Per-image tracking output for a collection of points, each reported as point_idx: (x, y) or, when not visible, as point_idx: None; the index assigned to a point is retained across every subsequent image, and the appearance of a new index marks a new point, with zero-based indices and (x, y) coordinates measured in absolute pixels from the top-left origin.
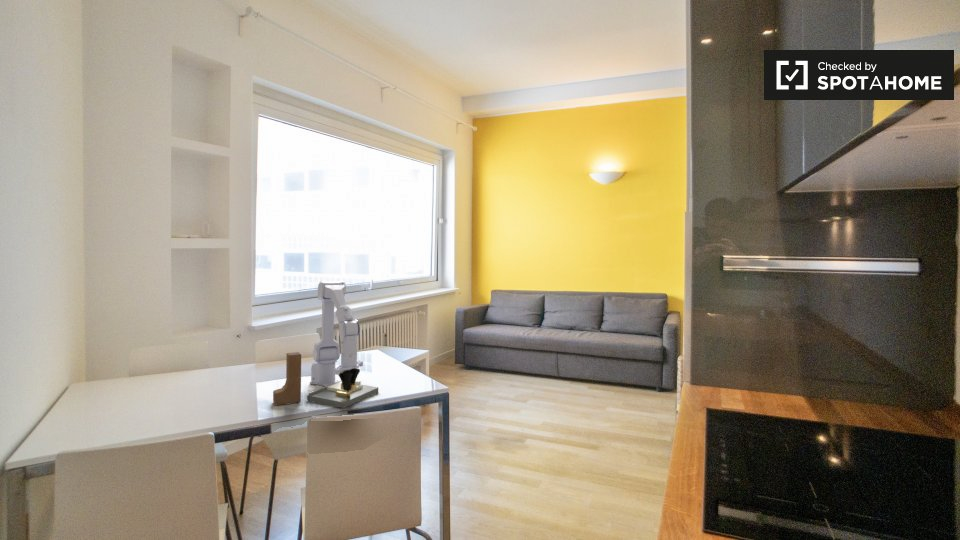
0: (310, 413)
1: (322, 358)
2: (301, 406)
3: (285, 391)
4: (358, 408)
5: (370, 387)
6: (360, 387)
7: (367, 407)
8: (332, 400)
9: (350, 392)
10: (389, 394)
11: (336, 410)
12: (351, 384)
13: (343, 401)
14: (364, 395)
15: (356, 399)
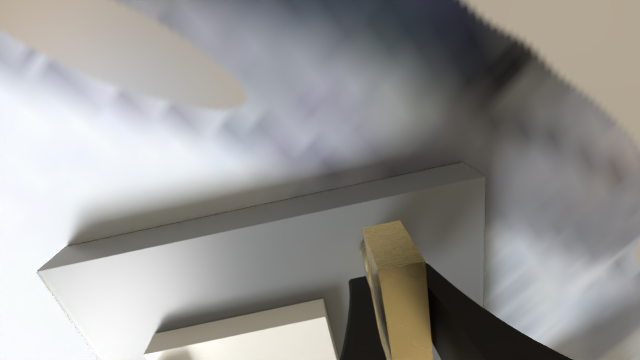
0: (626, 229)
1: None
2: (548, 335)
3: None
4: (415, 77)
5: (96, 306)
6: (176, 336)
7: (357, 37)
8: (482, 267)
9: (296, 306)
10: (6, 150)
11: (523, 163)
12: (420, 296)
13: (468, 199)
14: (231, 222)
15: (331, 200)
